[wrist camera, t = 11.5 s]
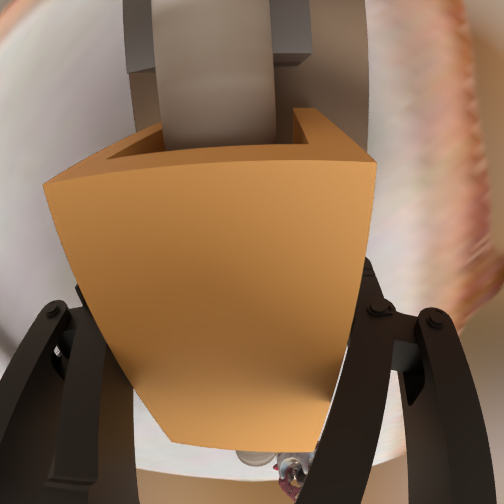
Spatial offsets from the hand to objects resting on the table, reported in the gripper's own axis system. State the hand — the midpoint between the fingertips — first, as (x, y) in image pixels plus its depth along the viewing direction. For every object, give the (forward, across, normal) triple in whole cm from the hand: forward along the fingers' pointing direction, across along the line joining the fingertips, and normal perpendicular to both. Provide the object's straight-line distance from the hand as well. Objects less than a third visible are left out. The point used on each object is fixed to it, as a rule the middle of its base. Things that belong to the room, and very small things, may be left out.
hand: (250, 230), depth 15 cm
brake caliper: (+4, -6, +41) cm, 42 cm away
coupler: (0, 0, 0) cm, 0 cm away
